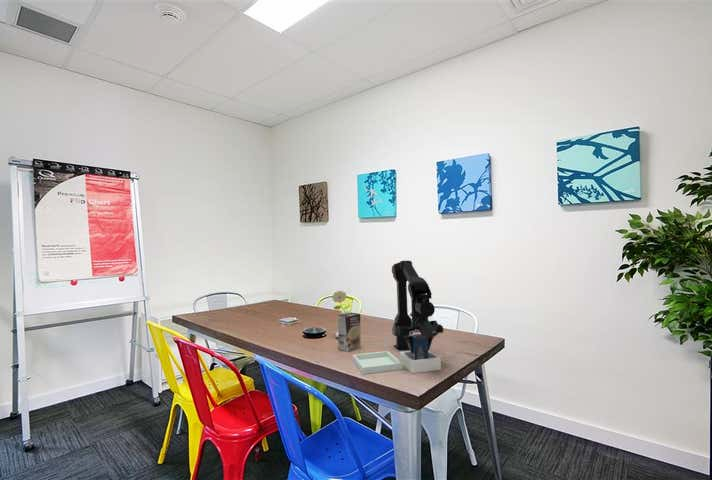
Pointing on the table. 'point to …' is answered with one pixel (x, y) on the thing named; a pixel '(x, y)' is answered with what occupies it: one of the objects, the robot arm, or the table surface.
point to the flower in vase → (339, 298)
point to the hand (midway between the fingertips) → (419, 351)
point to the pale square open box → (420, 362)
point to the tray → (376, 362)
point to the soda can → (419, 347)
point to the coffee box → (349, 332)
